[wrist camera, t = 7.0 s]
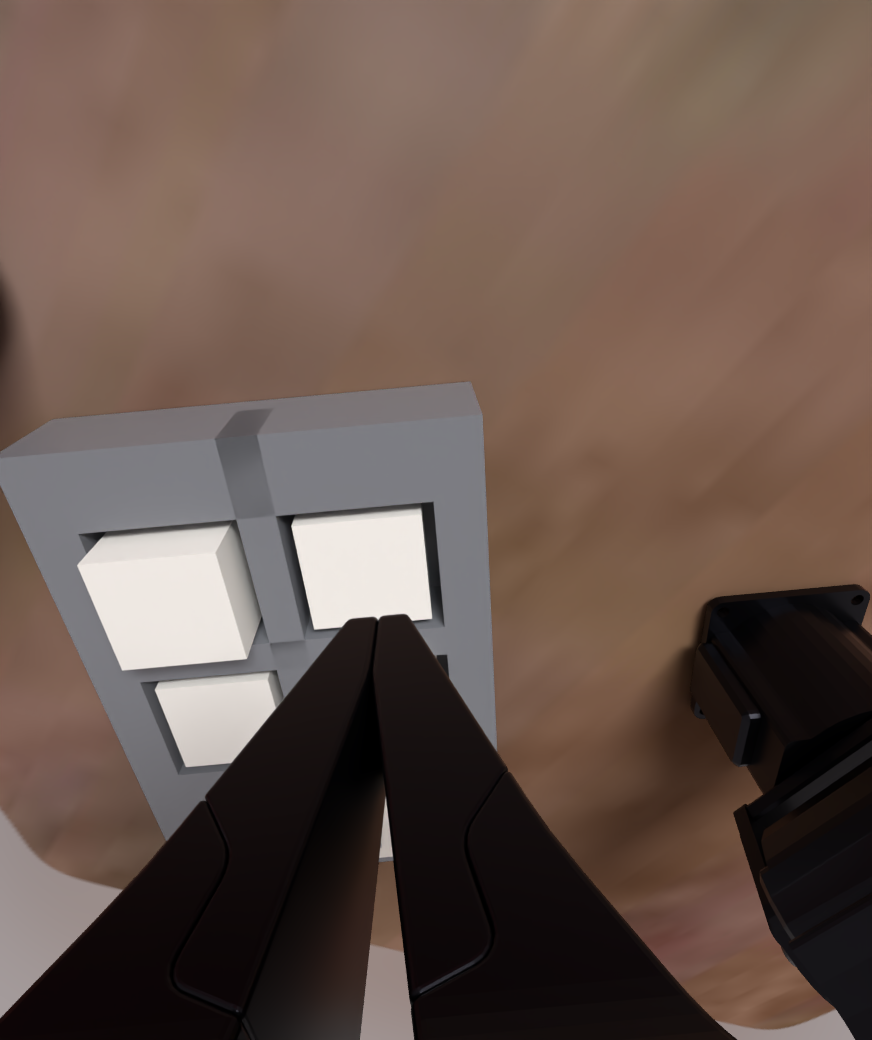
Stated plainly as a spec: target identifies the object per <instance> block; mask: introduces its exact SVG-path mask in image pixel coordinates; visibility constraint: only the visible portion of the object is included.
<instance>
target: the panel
mask: <svg viewBox="0 0 872 1040" xmlns="http://www.w3.org/2000/svg"><path fill="white" fill-rule="evenodd" d="M0 486H1V488H2V490H3V492H4V494H5V496H6V498H7V501H8V503H9V505H10V507H11V509H12V511H13V514H14V516H15V518H16V520H17V522H18V524H19V526H20V529H21V531H22V533H23V535H24V537H25V539H26V541H27V544H28V546H29V548H30V550H31V552H32V554H33V556H34V559H35V561H36V563H37V565H38V567H39V569H40V571H41V574H42V576H43V578H44V580H45V582H46V584H47V586H48V589H49V591H50V593H51V595H52V597H53V599H54V601H55V604H56V606H57V608H58V610H59V612H60V614H61V616H62V619H63V621H64V623H65V625H66V627H67V629H68V631H69V634H70V636H71V638H72V640H73V642H74V644H75V646H76V649H77V651H78V653H79V655H80V657H81V659H82V662H83V664H84V666H85V668H86V670H87V672H88V674H89V677H90V679H91V681H92V683H93V685H94V687H95V689H96V692H97V694H98V696H99V698H100V700H101V702H102V704H103V707H104V709H105V711H106V713H107V715H108V717H109V719H110V722H111V724H112V726H113V728H114V730H115V732H116V734H117V737H118V739H119V741H120V743H121V745H122V747H123V749H124V752H125V754H126V756H127V758H128V760H129V762H130V764H131V767H132V769H133V771H134V773H135V775H136V777H137V779H138V782H139V784H140V786H141V788H142V790H143V792H144V795H145V797H146V799H147V801H148V803H149V805H150V807H151V810H152V812H153V814H154V816H155V818H156V820H157V822H158V825H159V827H160V829H161V831H162V833H163V835H164V837H165V840H166V841H167V840H168V839H169V838H170V837H171V835H172V834H173V833H174V832H175V831H176V830H177V828H178V827H179V826H180V825H181V824H182V822H183V821H184V820H185V819H186V818H187V816H188V815H189V814H190V813H191V811H192V810H193V809H194V808H195V806H196V805H197V804H198V803H199V802H200V801H201V800H205V795H206V793H207V792H208V791H209V790H210V788H211V787H212V786H213V785H214V784H215V782H216V781H217V780H218V779H219V777H220V776H221V775H222V774H223V773H224V771H225V770H226V769H227V768H228V766H229V765H230V764H231V763H227V764H216V765H205V766H194V767H186V766H185V764H184V761H183V759H182V756H181V754H180V751H179V749H178V746H177V744H176V741H175V739H174V736H173V734H172V731H171V729H170V727H169V724H168V722H167V719H166V717H165V714H164V712H163V709H162V707H161V704H160V702H159V699H158V697H157V694H156V692H155V689H156V687H157V685H158V683H159V681H162V680H173V679H184V678H195V677H206V676H217V675H228V674H239V673H249V672H260V671H271V670H277V673H278V677H279V681H280V684H281V688H282V692H283V696H284V698H285V696H286V695H287V694H288V693H289V691H290V690H291V689H292V688H293V687H294V685H295V684H296V683H297V682H298V680H299V679H300V678H301V677H302V676H303V674H304V673H305V672H306V671H307V669H308V668H309V667H310V666H311V664H312V663H313V662H314V661H315V660H316V658H317V657H318V656H319V655H320V653H321V652H322V651H323V650H324V649H325V647H326V646H327V645H328V644H329V642H330V641H331V640H332V639H333V637H334V636H335V635H336V634H337V633H338V631H339V630H340V629H341V628H342V627H338V628H327V629H316V630H314V626H313V622H312V617H311V613H310V608H309V604H308V599H307V595H306V590H305V586H304V581H303V577H302V572H301V567H300V563H299V558H298V554H297V549H296V545H295V540H294V536H293V531H292V527H291V526H292V523H293V520H294V517H295V515H296V514H303V513H314V512H325V511H336V510H347V509H358V508H369V507H380V506H391V505H402V504H413V503H422V509H423V518H424V528H425V538H426V548H427V558H428V568H429V579H430V594H431V609H432V619H425V620H414V621H412V622H413V623H414V625H415V626H416V628H417V629H418V631H419V632H420V634H421V636H422V637H423V639H424V640H425V642H426V643H427V645H428V646H429V648H430V649H431V651H432V652H433V654H434V655H437V660H438V662H439V663H440V665H441V666H442V668H443V669H444V671H445V672H446V674H447V676H448V677H449V679H450V680H451V682H452V683H453V685H454V686H455V688H456V689H457V691H458V692H459V694H460V696H461V697H462V699H463V700H464V702H465V703H466V705H467V706H468V708H469V709H470V711H471V713H472V714H473V716H474V717H475V719H476V720H477V722H478V723H479V725H480V726H481V728H482V729H483V731H484V733H485V734H486V736H487V737H488V739H489V740H490V742H491V743H492V745H493V746H494V748H495V749H496V751H497V739H496V716H495V693H494V670H493V647H492V624H491V601H490V577H489V554H488V531H487V508H486V485H485V462H484V439H483V416H482V412H481V409H480V406H479V404H478V401H477V398H476V395H475V393H474V390H473V387H472V384H471V382H459V383H448V384H437V385H426V386H415V387H404V388H393V389H382V390H370V391H359V392H348V393H337V394H326V395H315V396H304V397H293V398H282V399H271V400H260V401H249V402H238V403H227V404H215V405H204V406H193V407H182V408H171V409H160V410H149V411H138V412H127V413H116V414H105V415H94V416H83V417H72V418H60V419H52V420H50V421H49V422H47V423H46V424H44V425H42V426H41V427H39V428H38V429H36V430H34V431H33V432H31V433H30V434H28V435H26V436H25V437H23V438H22V439H20V440H18V441H17V442H15V443H14V444H12V445H10V446H9V447H7V448H6V449H4V450H2V451H1V452H0ZM227 520H236V521H237V524H238V528H239V532H240V535H241V539H242V543H243V547H244V550H245V554H246V558H247V562H248V565H249V569H250V573H251V576H252V580H253V584H254V588H255V591H256V595H257V599H258V602H259V606H260V610H261V614H262V617H261V620H260V622H259V625H258V628H257V631H256V634H255V637H254V640H253V643H252V646H251V649H250V652H249V655H248V657H247V659H243V660H232V661H221V662H210V663H199V664H188V665H177V666H166V667H156V668H145V669H134V670H123V671H122V669H121V667H120V664H119V662H118V660H117V657H116V655H115V653H114V650H113V648H112V646H111V643H110V641H109V639H108V636H107V634H106V632H105V629H104V627H103V625H102V622H101V620H100V618H99V615H98V613H97V611H96V608H95V606H94V604H93V601H92V599H91V597H90V594H89V592H88V590H87V587H86V585H85V583H84V580H83V578H82V576H81V573H80V571H79V569H78V566H77V565H78V564H79V562H80V561H81V560H82V559H83V558H84V557H85V556H86V555H87V553H88V552H89V551H90V550H91V549H92V548H93V547H94V546H95V545H96V543H97V542H98V541H99V540H100V539H101V538H102V537H103V536H104V535H105V533H106V532H107V531H117V530H128V529H139V528H150V527H161V526H172V525H183V524H194V523H205V522H216V521H227ZM205 801H206V800H205ZM384 861H393V854H392V846H391V837H390V829H389V820H388V812H387V803H386V799H385V808H384V817H383V827H382V836H381V846H380V855H379V862H384Z"/></svg>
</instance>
